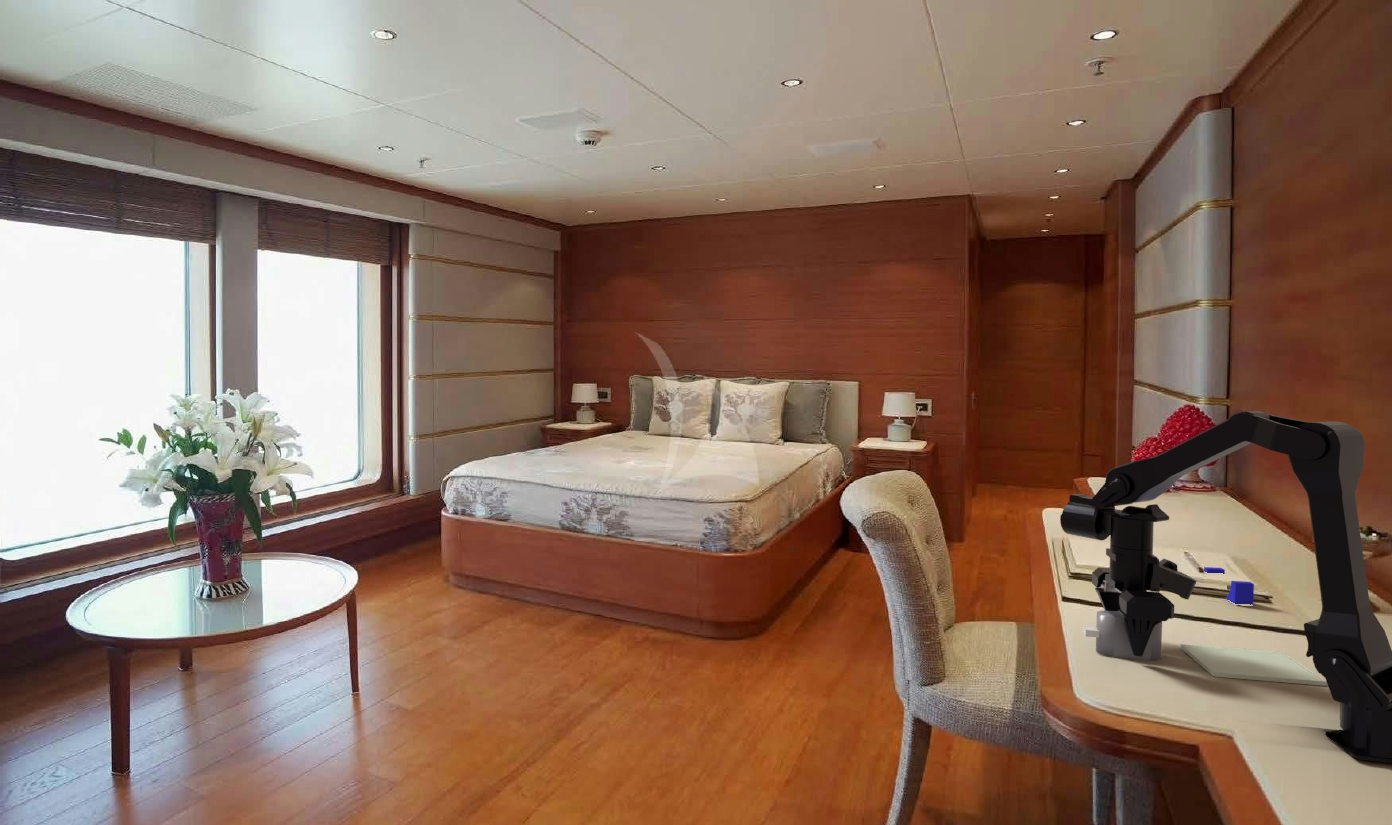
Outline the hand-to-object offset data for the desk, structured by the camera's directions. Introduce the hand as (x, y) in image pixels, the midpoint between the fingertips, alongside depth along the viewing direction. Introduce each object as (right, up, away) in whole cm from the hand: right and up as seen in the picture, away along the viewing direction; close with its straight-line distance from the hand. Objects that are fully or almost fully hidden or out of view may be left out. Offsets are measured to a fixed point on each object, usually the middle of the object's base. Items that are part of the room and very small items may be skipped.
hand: (1128, 645), depth 117 cm
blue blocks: (+33, -1, +26) cm, 42 cm away
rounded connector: (0, -1, 0) cm, 1 cm away
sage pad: (+15, -2, -5) cm, 16 cm away
